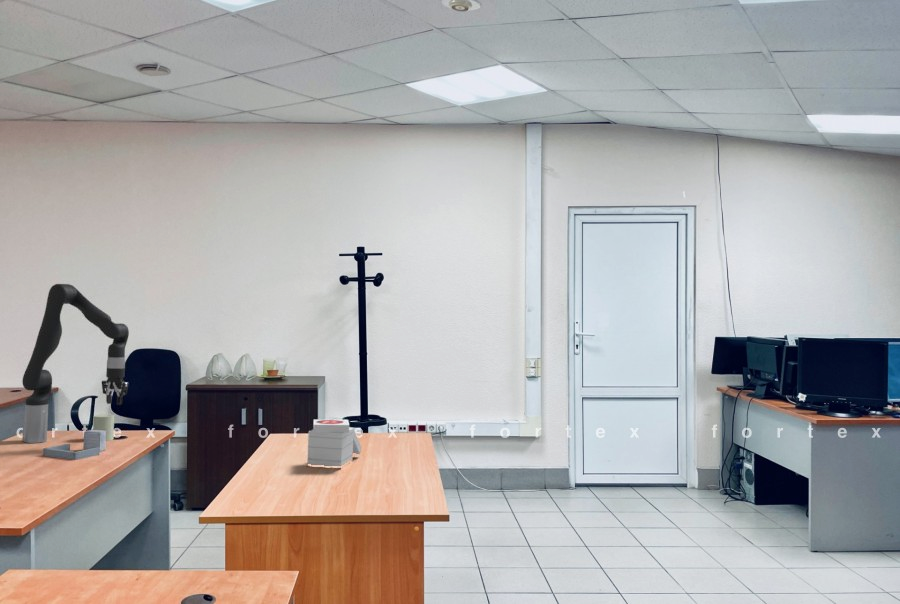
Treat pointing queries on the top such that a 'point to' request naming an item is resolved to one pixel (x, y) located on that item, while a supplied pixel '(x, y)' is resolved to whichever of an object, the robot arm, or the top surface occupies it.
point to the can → (104, 424)
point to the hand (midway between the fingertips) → (114, 403)
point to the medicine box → (94, 439)
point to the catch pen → (69, 452)
